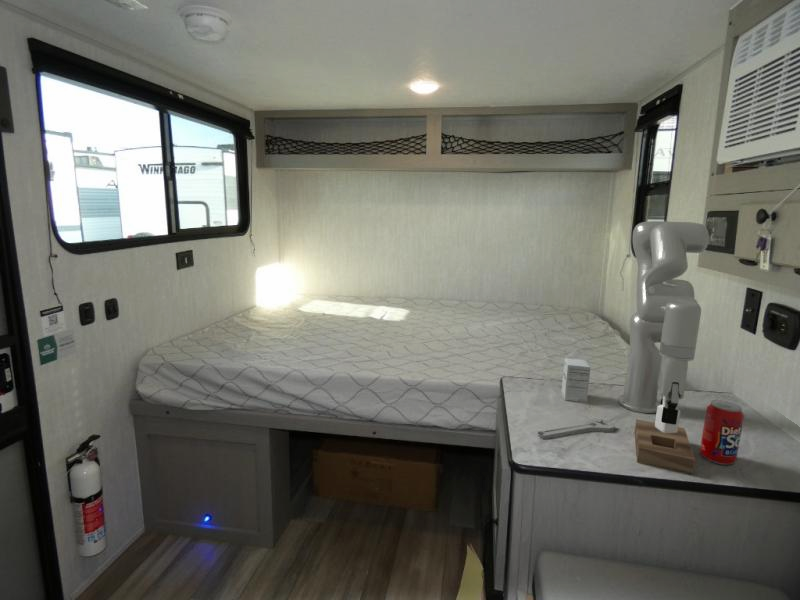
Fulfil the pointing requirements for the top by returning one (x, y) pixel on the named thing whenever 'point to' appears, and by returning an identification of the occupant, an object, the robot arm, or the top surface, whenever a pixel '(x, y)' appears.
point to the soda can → (722, 432)
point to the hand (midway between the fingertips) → (667, 417)
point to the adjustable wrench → (577, 429)
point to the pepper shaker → (665, 426)
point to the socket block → (663, 448)
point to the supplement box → (575, 379)
